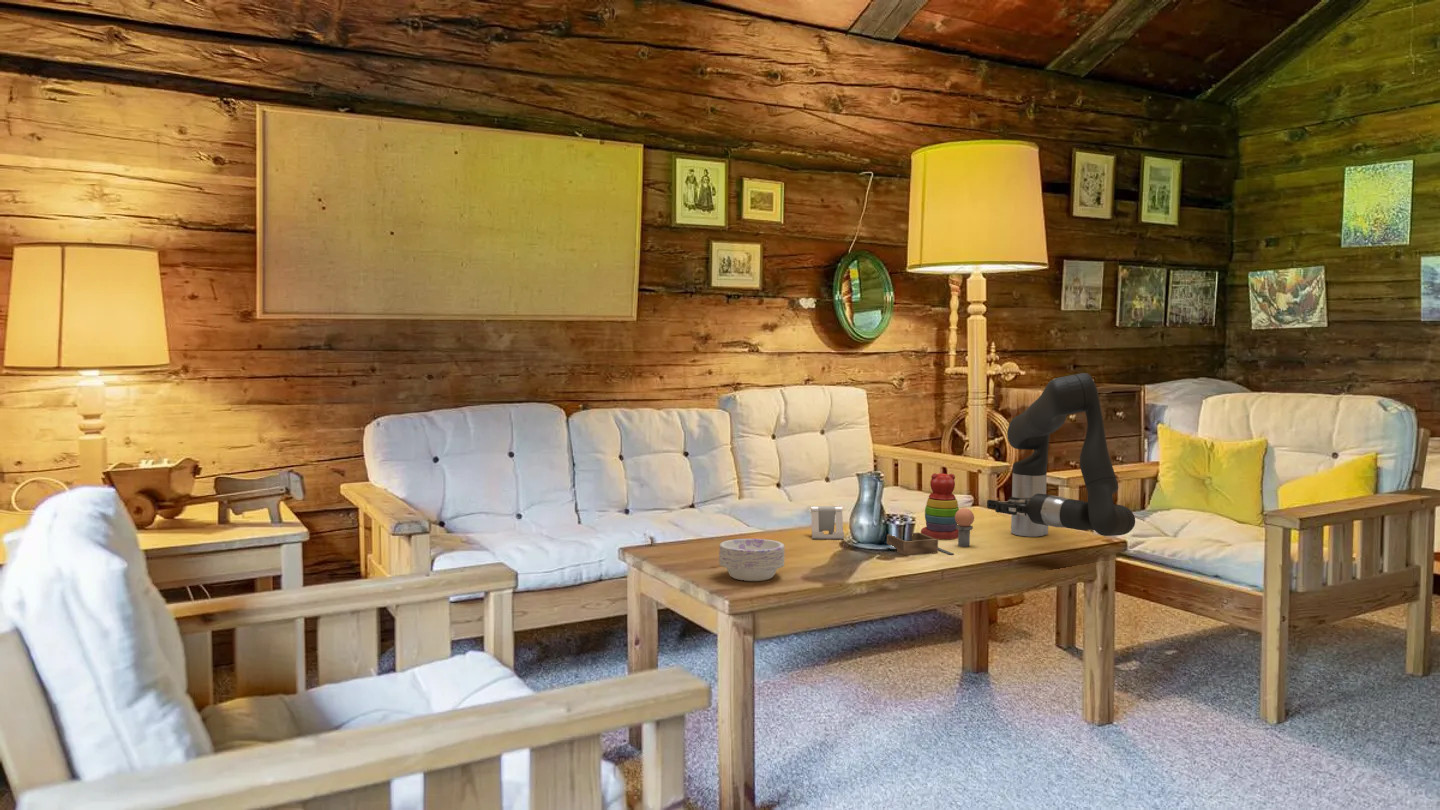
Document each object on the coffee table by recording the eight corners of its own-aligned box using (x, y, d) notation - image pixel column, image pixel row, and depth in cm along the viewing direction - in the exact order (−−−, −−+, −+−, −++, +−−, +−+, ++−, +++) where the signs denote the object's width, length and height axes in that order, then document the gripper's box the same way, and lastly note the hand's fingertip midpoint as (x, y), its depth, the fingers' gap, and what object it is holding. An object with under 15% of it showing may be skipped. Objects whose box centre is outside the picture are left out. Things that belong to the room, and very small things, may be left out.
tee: (966, 543, 274) (966, 524, 274) (973, 546, 270) (974, 526, 270) (953, 544, 273) (954, 524, 272) (961, 547, 269) (962, 527, 269)
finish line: (921, 542, 276) (921, 541, 276) (953, 554, 261) (953, 553, 261) (917, 542, 275) (917, 541, 275) (949, 555, 260) (949, 553, 260)
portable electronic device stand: (812, 540, 279) (812, 509, 278) (810, 534, 287) (810, 504, 286) (843, 540, 279) (844, 510, 278) (840, 534, 286) (841, 505, 286)
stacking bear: (958, 533, 289) (959, 471, 287) (963, 540, 279) (964, 476, 277) (920, 532, 290) (921, 470, 288) (923, 539, 280) (924, 475, 278)
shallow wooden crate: (918, 545, 272) (918, 532, 272) (937, 552, 263) (937, 539, 263) (886, 547, 269) (886, 534, 269) (904, 555, 260) (905, 541, 260)
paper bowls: (763, 566, 247) (763, 534, 247) (796, 580, 234) (797, 546, 233) (707, 573, 240) (707, 540, 239) (739, 588, 227) (739, 553, 226)
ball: (967, 524, 274) (967, 506, 274) (977, 528, 270) (978, 509, 269) (951, 525, 273) (951, 507, 272) (961, 529, 268) (961, 510, 268)
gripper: (1070, 493, 252) (1016, 485, 265) (1034, 498, 244) (980, 490, 257) (1069, 523, 253) (1015, 514, 266) (1033, 528, 244) (980, 519, 257)
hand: (998, 502), depth 261 cm, fingers open, 8 cm apart
